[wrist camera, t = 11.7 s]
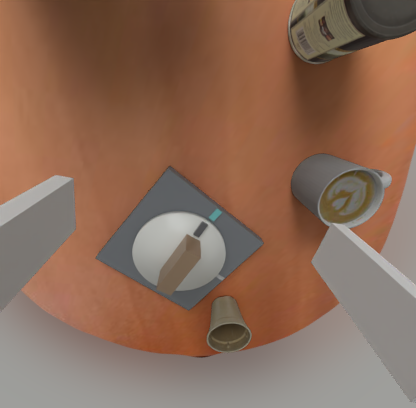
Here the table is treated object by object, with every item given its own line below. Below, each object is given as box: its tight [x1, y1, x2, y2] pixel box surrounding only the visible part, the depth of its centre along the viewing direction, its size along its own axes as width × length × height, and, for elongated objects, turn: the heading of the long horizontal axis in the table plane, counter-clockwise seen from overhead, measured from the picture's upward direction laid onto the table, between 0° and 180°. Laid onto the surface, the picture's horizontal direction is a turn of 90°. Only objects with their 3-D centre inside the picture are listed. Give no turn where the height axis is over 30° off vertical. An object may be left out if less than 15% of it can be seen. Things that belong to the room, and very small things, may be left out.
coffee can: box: [288, 0, 416, 64], centre depth 25 cm, size 10×10×14 cm
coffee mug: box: [291, 154, 392, 228], centre depth 37 cm, size 13×10×10 cm
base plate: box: [96, 166, 264, 310], centre depth 45 cm, size 24×24×2 cm
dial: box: [132, 211, 226, 296], centre depth 41 cm, size 18×18×6 cm
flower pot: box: [207, 296, 252, 353], centre depth 50 cm, size 9×9×9 cm
